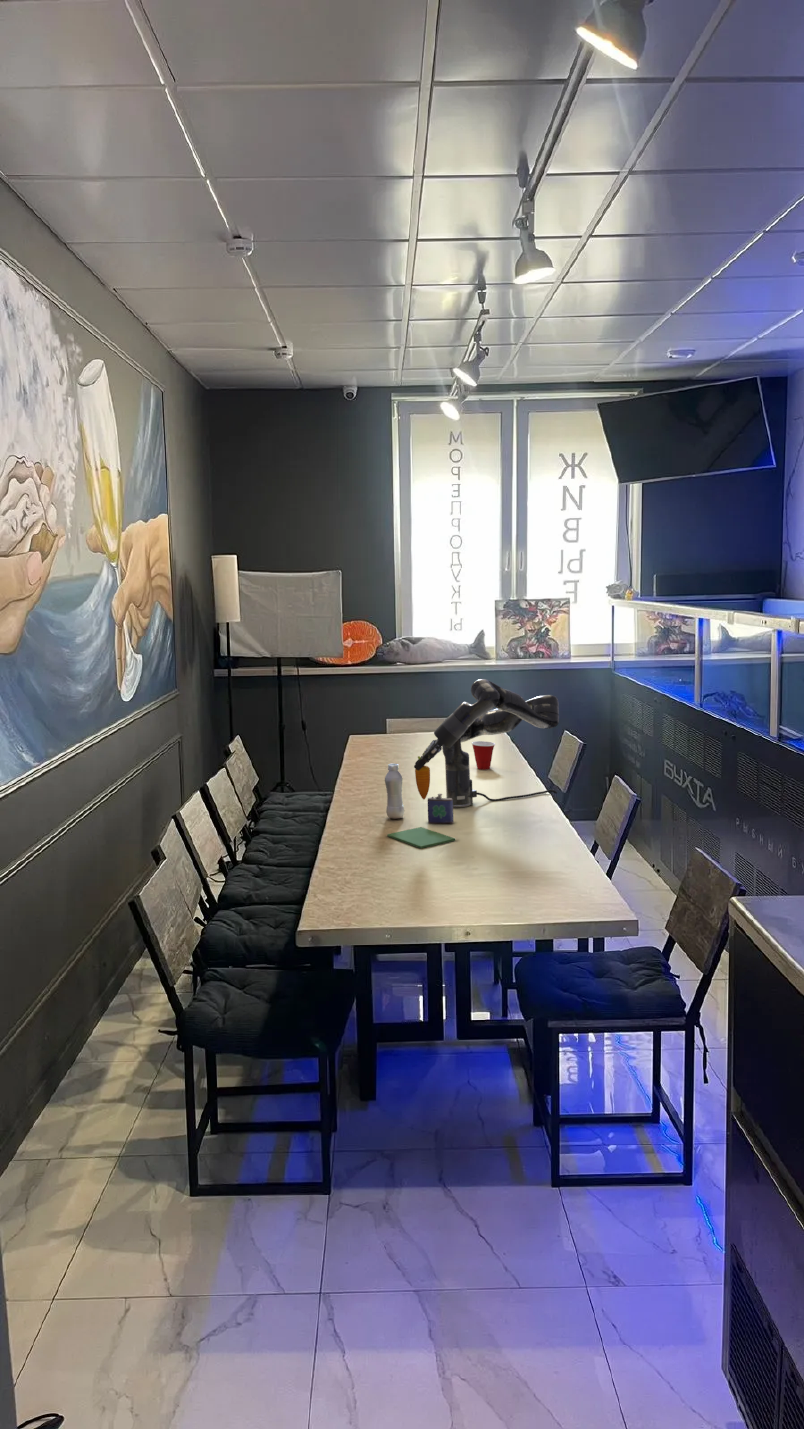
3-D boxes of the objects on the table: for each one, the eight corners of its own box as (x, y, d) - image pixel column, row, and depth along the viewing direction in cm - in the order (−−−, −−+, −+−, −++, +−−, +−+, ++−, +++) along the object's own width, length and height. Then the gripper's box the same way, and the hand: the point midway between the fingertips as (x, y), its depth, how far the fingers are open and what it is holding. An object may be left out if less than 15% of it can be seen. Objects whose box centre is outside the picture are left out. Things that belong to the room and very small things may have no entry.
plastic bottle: (402, 820, 348) (400, 766, 345) (384, 820, 349) (382, 766, 346) (406, 816, 354) (404, 762, 351) (388, 815, 356) (386, 762, 353)
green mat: (420, 829, 335) (420, 826, 335) (455, 840, 318) (455, 838, 318) (387, 836, 327) (387, 834, 327) (420, 848, 311) (420, 846, 311)
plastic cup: (497, 770, 430) (496, 743, 428) (472, 771, 430) (472, 744, 428) (495, 765, 440) (494, 739, 439) (471, 766, 441) (470, 740, 439)
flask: (454, 822, 342) (453, 793, 341) (452, 824, 339) (451, 794, 338) (429, 821, 345) (427, 792, 343) (427, 823, 342) (425, 794, 340)
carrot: (415, 798, 323) (413, 754, 321) (430, 797, 323) (428, 753, 321) (417, 801, 318) (415, 757, 316) (432, 800, 318) (430, 756, 316)
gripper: (459, 741, 309) (423, 779, 312) (460, 734, 323) (426, 770, 326) (441, 725, 309) (406, 763, 312) (443, 719, 323) (409, 755, 326)
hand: (416, 767), depth 319 cm, fingers closed on carrot, 4 cm apart
